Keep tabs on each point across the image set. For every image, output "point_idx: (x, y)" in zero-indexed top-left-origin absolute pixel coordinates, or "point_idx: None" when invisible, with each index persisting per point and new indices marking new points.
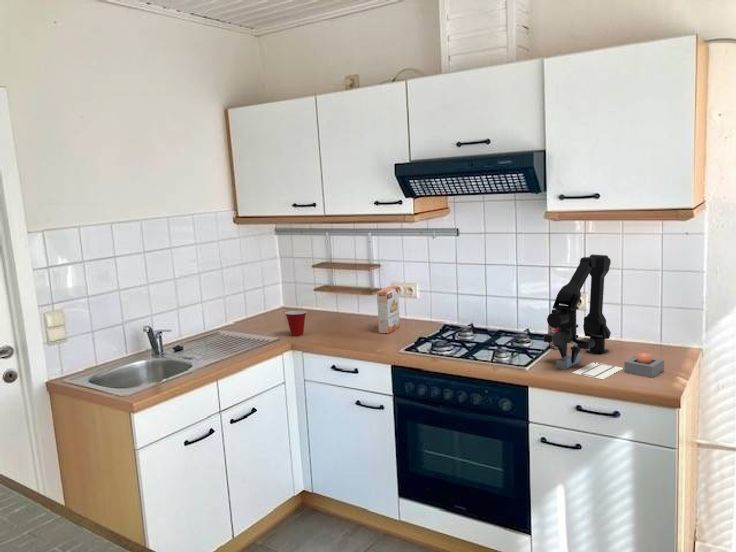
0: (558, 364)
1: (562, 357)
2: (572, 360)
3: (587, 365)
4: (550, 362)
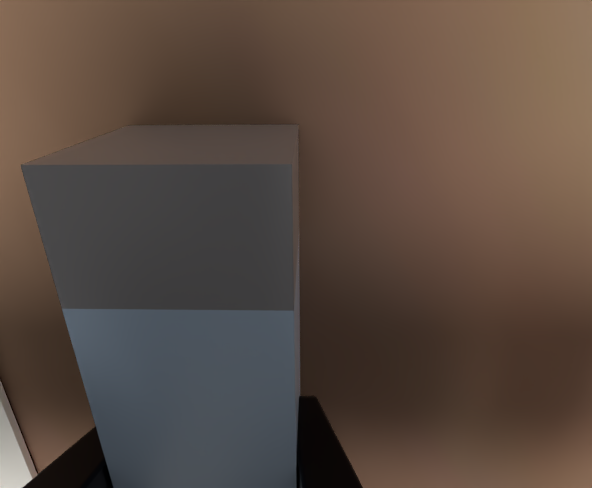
0: (241, 139)
1: (284, 417)
2: None
3: (16, 457)
4: (538, 328)
